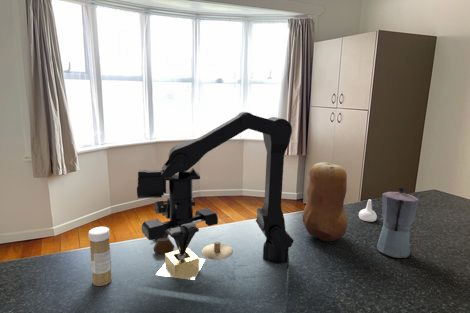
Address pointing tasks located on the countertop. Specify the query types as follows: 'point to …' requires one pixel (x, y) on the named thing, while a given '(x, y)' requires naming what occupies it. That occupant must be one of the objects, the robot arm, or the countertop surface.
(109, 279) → the sprinkles bottle
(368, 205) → the garlic bulb
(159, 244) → the bolt
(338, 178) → the butternut squash
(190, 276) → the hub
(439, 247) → the countertop surface
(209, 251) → the stand
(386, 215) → the moka pot
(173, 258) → the brass square sleeve
